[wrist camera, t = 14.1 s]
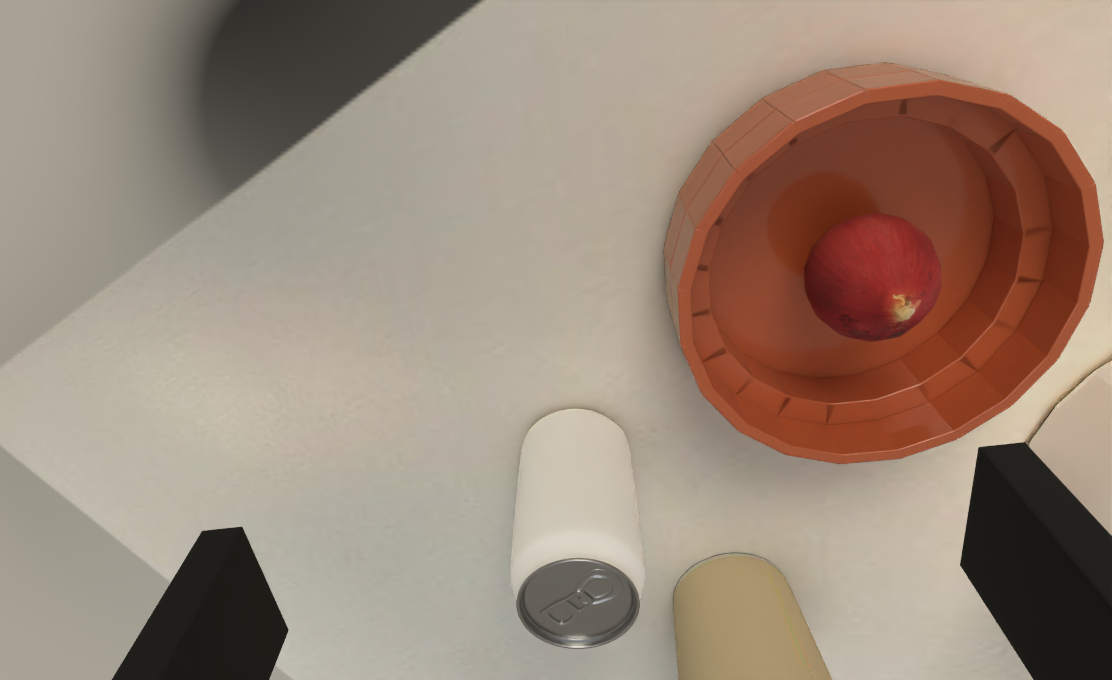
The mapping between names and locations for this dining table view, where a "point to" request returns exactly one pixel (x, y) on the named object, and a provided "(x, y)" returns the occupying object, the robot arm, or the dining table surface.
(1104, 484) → the kettle
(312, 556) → the dining table surface
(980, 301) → the bowl
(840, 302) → the onion
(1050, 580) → the robot arm
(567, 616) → the can
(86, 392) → the dining table surface
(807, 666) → the coffee cup
